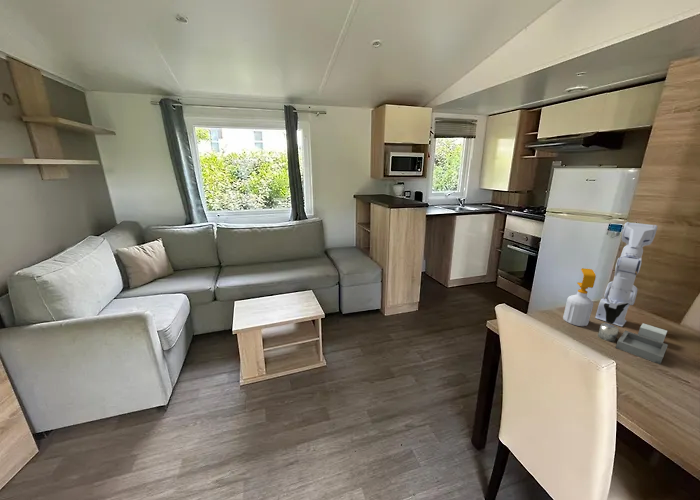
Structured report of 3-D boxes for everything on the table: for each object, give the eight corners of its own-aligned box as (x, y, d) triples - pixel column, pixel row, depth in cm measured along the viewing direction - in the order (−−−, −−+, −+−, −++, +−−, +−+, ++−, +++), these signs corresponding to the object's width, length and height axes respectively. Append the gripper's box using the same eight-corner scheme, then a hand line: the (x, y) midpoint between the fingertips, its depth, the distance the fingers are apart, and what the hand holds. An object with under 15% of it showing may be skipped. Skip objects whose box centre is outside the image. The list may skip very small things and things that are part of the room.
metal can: (596, 336, 117) (599, 326, 116) (599, 332, 120) (602, 321, 119) (613, 343, 113) (616, 332, 112) (616, 338, 116) (620, 327, 115)
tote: (615, 347, 110) (617, 341, 109) (623, 336, 117) (625, 330, 116) (660, 364, 101) (662, 357, 100) (665, 351, 108) (668, 344, 107)
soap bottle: (583, 317, 132) (596, 267, 124) (591, 328, 123) (606, 274, 116) (559, 314, 134) (571, 265, 127) (566, 324, 126) (579, 272, 119)
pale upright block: (636, 338, 117) (640, 327, 115) (639, 333, 120) (642, 323, 118) (661, 346, 111) (665, 335, 110) (663, 341, 114) (667, 330, 113)
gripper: (631, 296, 103) (621, 329, 107) (639, 286, 111) (629, 317, 115) (606, 289, 108) (597, 321, 112) (615, 280, 117) (607, 310, 121)
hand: (612, 319), depth 114 cm, fingers open, 7 cm apart
